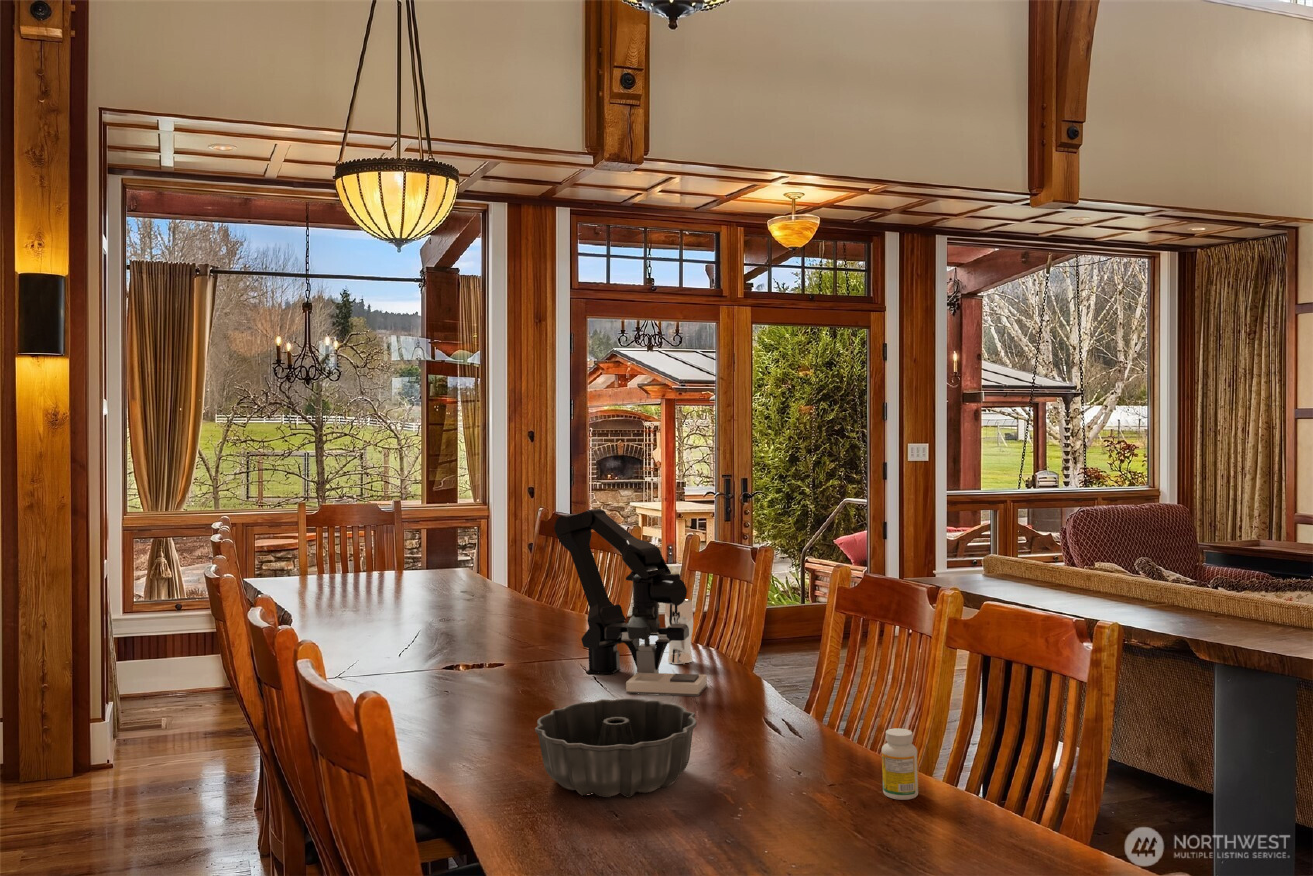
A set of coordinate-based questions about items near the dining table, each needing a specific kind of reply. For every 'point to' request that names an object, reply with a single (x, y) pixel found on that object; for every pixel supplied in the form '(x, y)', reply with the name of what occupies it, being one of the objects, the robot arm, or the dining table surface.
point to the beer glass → (680, 615)
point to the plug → (646, 658)
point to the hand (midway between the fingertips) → (647, 669)
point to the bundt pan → (616, 745)
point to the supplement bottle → (899, 765)
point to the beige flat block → (667, 684)
